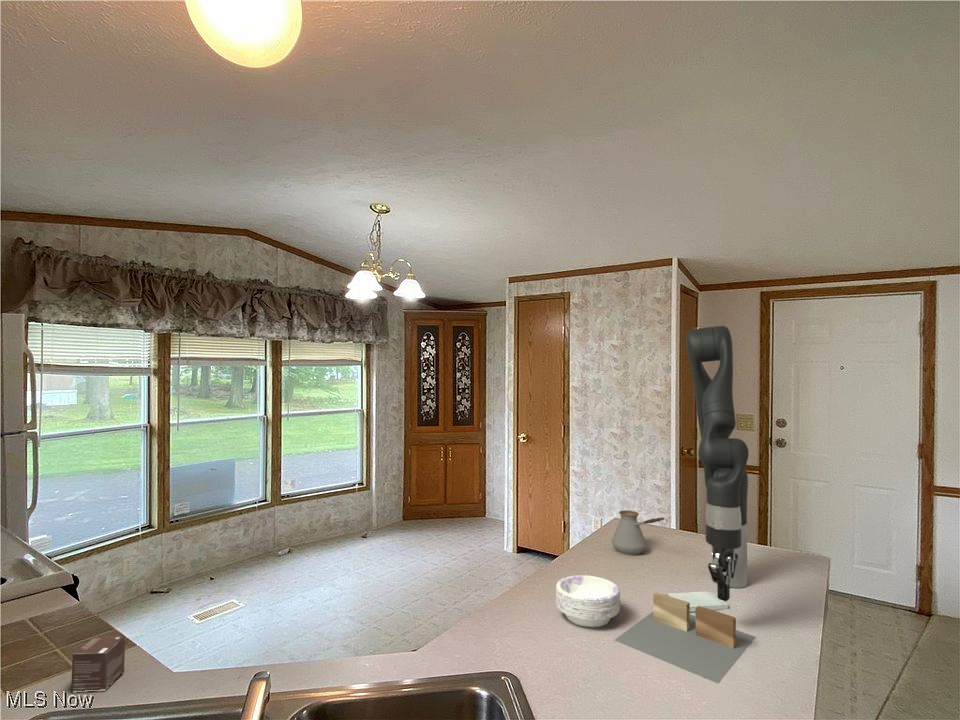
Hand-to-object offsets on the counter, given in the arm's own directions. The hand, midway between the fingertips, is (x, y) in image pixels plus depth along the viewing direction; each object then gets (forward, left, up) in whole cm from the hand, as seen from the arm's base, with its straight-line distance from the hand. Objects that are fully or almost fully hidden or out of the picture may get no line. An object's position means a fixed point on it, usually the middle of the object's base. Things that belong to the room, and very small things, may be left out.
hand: (723, 599), depth 115 cm
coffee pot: (-32, -37, -8) cm, 49 cm away
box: (+105, -78, -8) cm, 131 cm away
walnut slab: (+6, 0, -7) cm, 9 cm away
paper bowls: (+17, -26, -8) cm, 32 cm away
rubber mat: (+10, -5, -7) cm, 13 cm away
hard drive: (-9, -10, -7) cm, 15 cm away
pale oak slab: (+6, -10, -7) cm, 13 cm away
